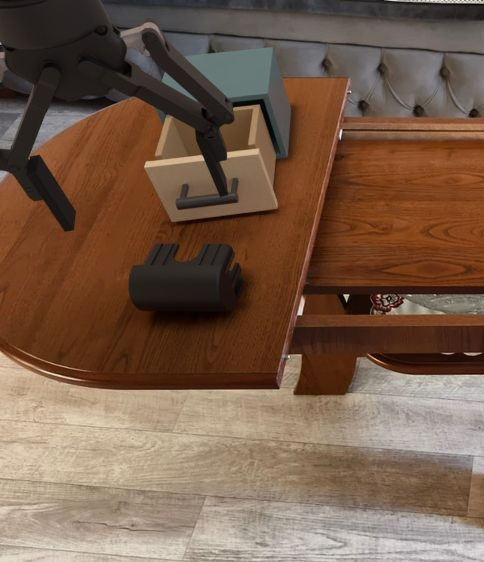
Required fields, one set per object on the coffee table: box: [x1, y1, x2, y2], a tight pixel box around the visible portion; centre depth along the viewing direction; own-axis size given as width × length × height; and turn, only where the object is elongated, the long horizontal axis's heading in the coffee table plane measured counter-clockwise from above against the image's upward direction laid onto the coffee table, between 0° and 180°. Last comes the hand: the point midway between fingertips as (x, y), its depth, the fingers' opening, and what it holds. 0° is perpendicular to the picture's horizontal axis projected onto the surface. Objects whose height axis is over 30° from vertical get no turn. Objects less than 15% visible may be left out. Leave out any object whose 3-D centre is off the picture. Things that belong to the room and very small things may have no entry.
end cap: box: [127, 243, 246, 312], centre depth 77 cm, size 10×7×7 cm
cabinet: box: [154, 46, 292, 160], centre depth 97 cm, size 13×15×11 cm
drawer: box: [143, 105, 279, 223], centre depth 87 cm, size 16×13×9 cm
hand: (148, 204), depth 64 cm, fingers open, 13 cm apart
